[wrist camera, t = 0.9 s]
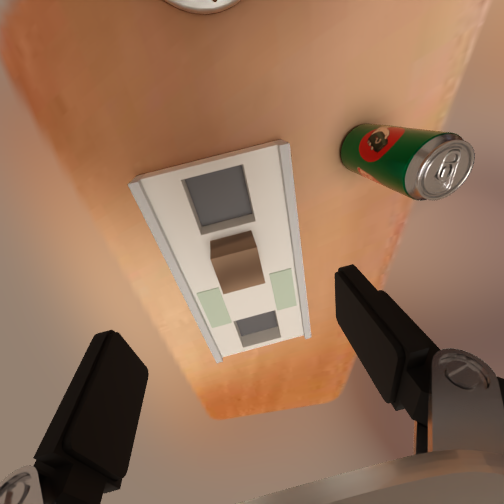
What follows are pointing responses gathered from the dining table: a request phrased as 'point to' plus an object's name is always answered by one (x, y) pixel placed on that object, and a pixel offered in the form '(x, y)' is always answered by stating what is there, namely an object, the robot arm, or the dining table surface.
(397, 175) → the soda can
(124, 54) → the dining table surface
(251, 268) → the walnut block
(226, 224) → the box
